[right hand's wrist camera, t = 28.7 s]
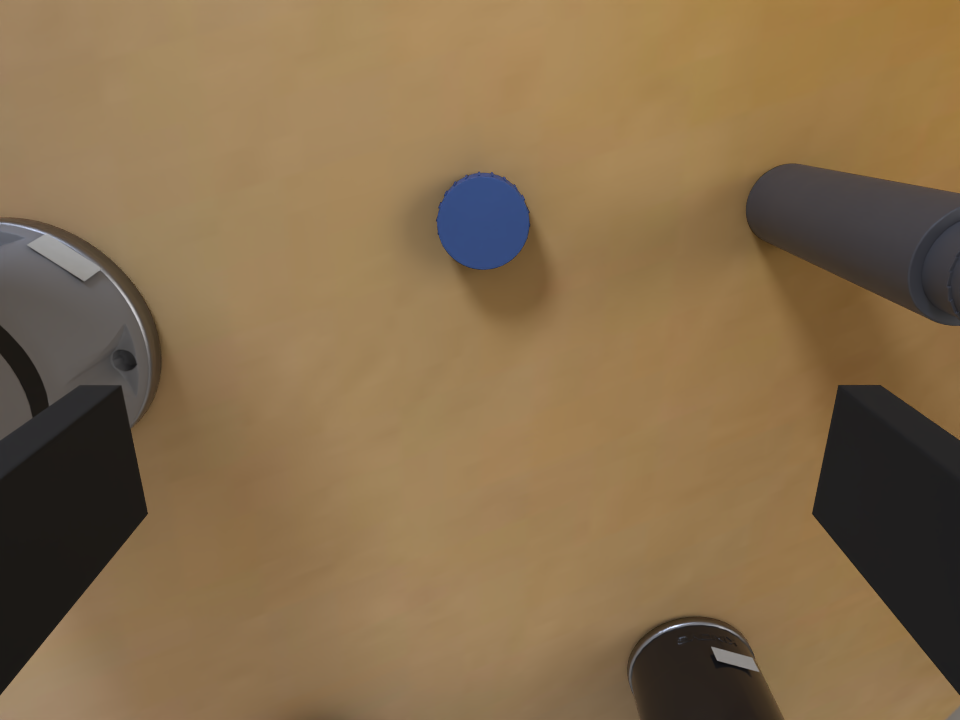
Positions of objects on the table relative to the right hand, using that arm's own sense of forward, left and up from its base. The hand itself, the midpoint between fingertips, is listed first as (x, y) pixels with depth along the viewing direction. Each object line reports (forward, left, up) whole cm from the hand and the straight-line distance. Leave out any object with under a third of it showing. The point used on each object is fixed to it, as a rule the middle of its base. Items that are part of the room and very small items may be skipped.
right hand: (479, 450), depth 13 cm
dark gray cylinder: (+14, -11, -28) cm, 33 cm away
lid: (0, 0, -26) cm, 26 cm away
